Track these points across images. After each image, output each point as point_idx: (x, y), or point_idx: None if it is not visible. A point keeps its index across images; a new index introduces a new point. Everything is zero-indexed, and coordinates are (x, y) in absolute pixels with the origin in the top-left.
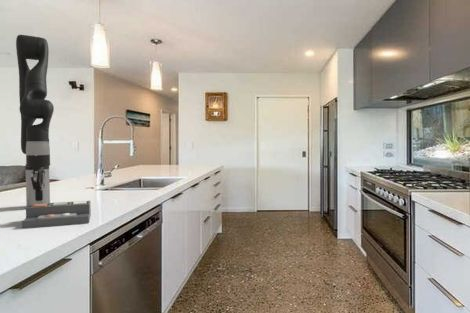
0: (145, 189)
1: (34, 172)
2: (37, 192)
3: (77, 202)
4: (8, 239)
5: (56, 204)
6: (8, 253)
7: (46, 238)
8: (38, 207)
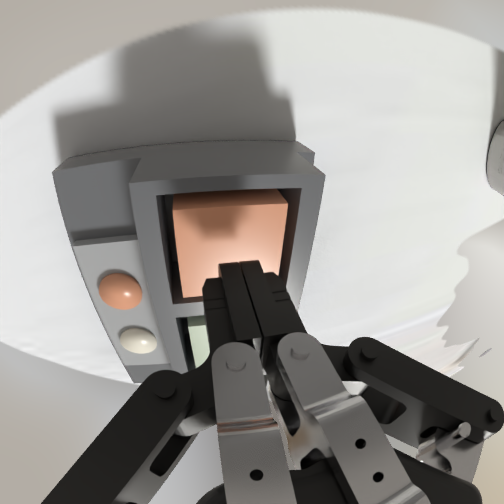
0: (472, 345)
1: None
2: (217, 344)
3: None
4: None
5: (205, 339)
6: None
7: None
8: (144, 265)
